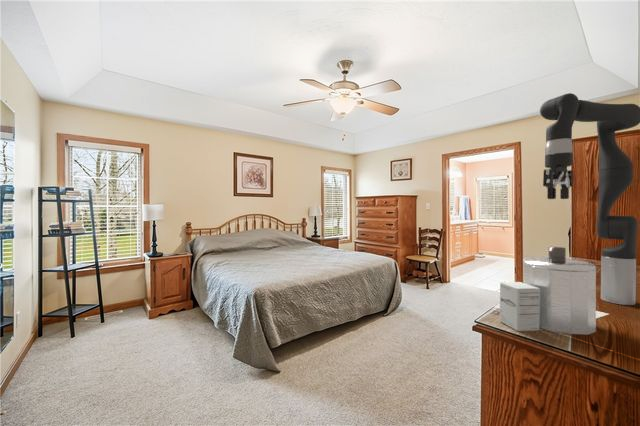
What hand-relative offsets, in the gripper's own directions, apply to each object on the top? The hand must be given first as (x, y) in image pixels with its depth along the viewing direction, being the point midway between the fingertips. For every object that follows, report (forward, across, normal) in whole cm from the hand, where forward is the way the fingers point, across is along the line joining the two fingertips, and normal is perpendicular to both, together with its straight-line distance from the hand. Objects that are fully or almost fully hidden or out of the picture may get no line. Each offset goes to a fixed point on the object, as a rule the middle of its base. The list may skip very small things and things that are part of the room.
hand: (558, 198), depth 100 cm
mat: (+39, +1, +3) cm, 39 cm away
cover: (+39, +17, +8) cm, 43 cm away
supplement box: (+39, +30, +4) cm, 49 cm away
